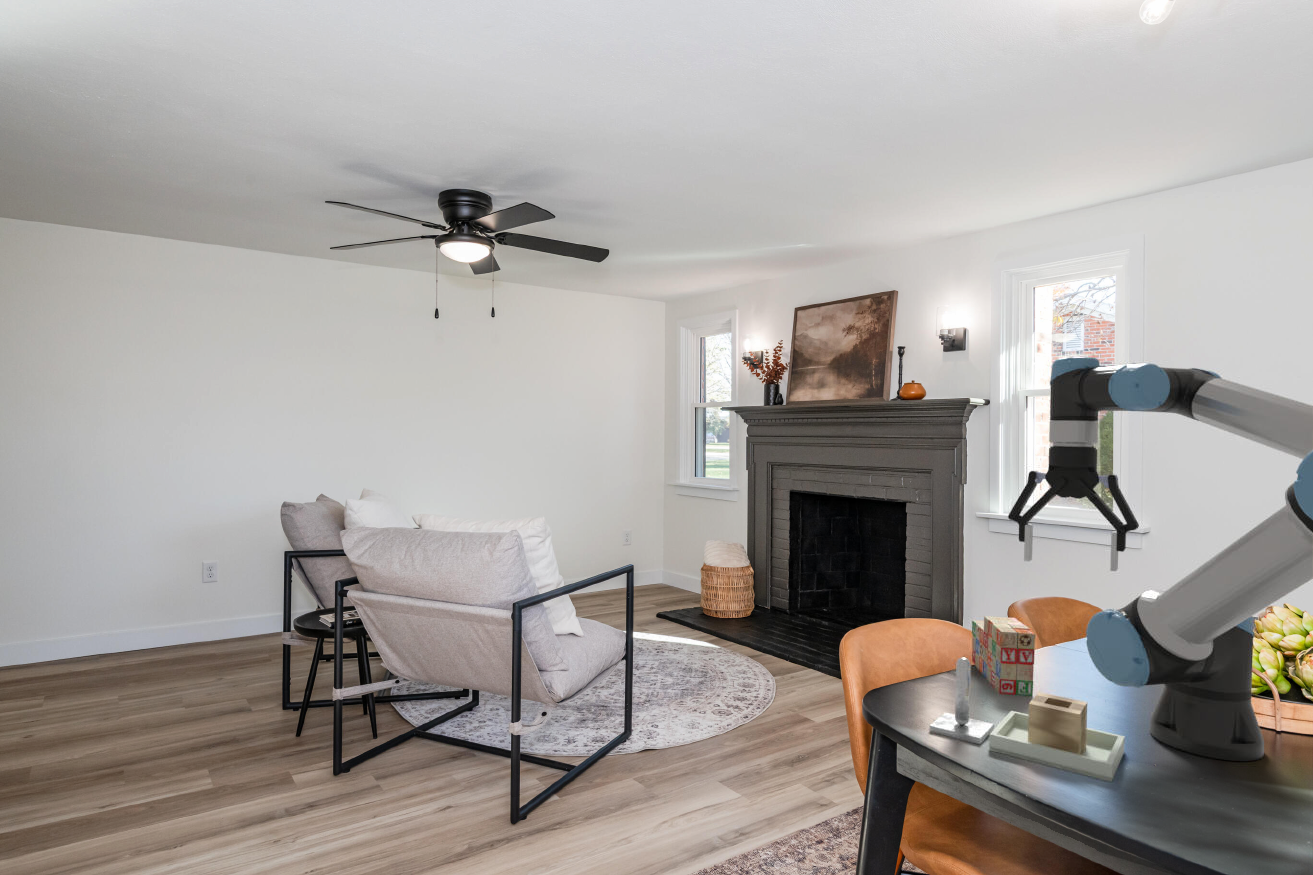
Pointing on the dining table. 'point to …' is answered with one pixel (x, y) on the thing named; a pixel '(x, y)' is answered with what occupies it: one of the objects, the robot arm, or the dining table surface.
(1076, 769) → the tray
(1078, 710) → the oak block
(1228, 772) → the dining table surface
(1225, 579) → the robot arm
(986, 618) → the stack of blocks
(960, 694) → the post
